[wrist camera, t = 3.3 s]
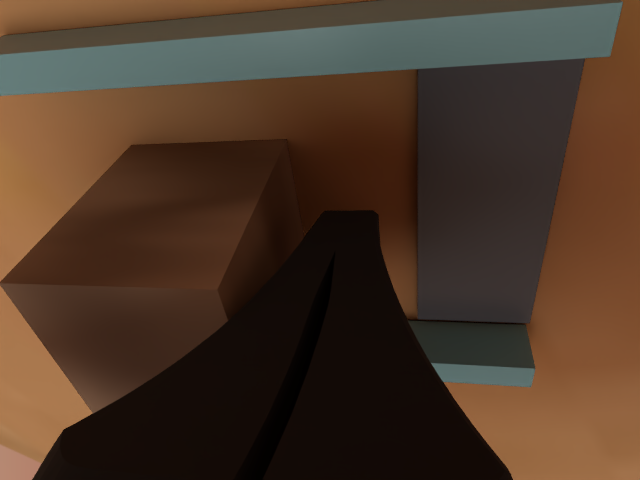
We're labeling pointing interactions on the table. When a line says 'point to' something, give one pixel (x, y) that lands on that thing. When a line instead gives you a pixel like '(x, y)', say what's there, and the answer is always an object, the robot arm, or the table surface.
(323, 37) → the channel
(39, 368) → the table surface
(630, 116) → the table surface
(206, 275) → the walnut block
